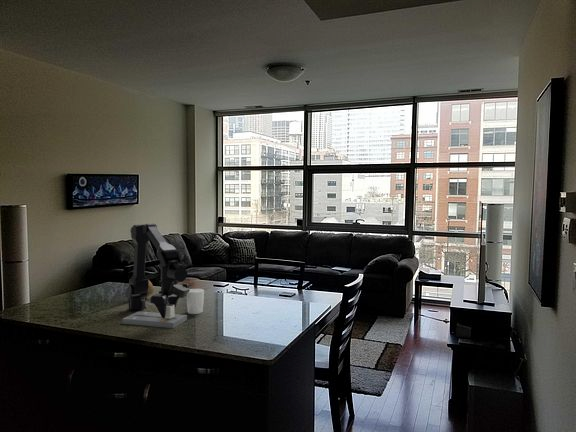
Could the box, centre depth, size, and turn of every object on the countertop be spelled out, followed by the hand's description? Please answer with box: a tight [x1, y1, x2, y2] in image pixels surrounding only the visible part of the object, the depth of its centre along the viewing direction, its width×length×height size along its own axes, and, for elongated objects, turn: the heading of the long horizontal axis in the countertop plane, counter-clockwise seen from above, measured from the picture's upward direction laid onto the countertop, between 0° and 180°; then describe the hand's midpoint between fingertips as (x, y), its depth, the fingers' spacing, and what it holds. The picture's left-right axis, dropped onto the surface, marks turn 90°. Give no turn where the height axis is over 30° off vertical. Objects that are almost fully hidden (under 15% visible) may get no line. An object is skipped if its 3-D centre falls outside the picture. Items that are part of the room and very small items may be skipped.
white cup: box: [186, 288, 205, 315], centre depth 197 cm, size 8×8×10 cm
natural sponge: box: [144, 279, 155, 300], centre depth 222 cm, size 9×9×10 cm
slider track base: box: [121, 310, 188, 329], centre depth 182 cm, size 23×12×2 cm, turn 76°
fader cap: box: [165, 303, 176, 319], centre depth 180 cm, size 4×4×5 cm
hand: (168, 315), depth 180 cm, fingers open, 7 cm apart
